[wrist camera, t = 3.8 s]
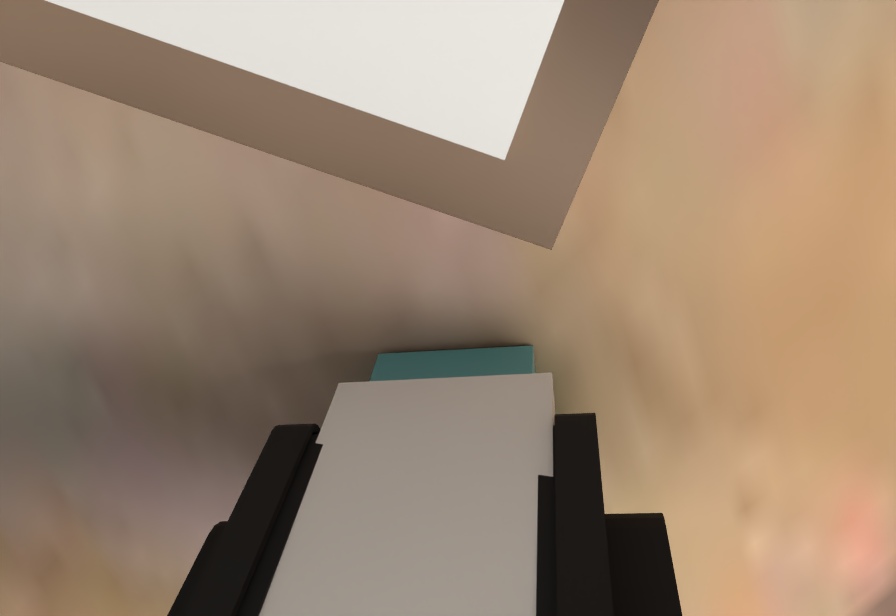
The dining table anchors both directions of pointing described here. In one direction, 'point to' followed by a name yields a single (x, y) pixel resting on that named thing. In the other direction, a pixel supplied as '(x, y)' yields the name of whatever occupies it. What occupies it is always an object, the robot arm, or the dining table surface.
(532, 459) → the grey square bar
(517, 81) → the paper
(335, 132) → the board
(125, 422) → the dining table surface
